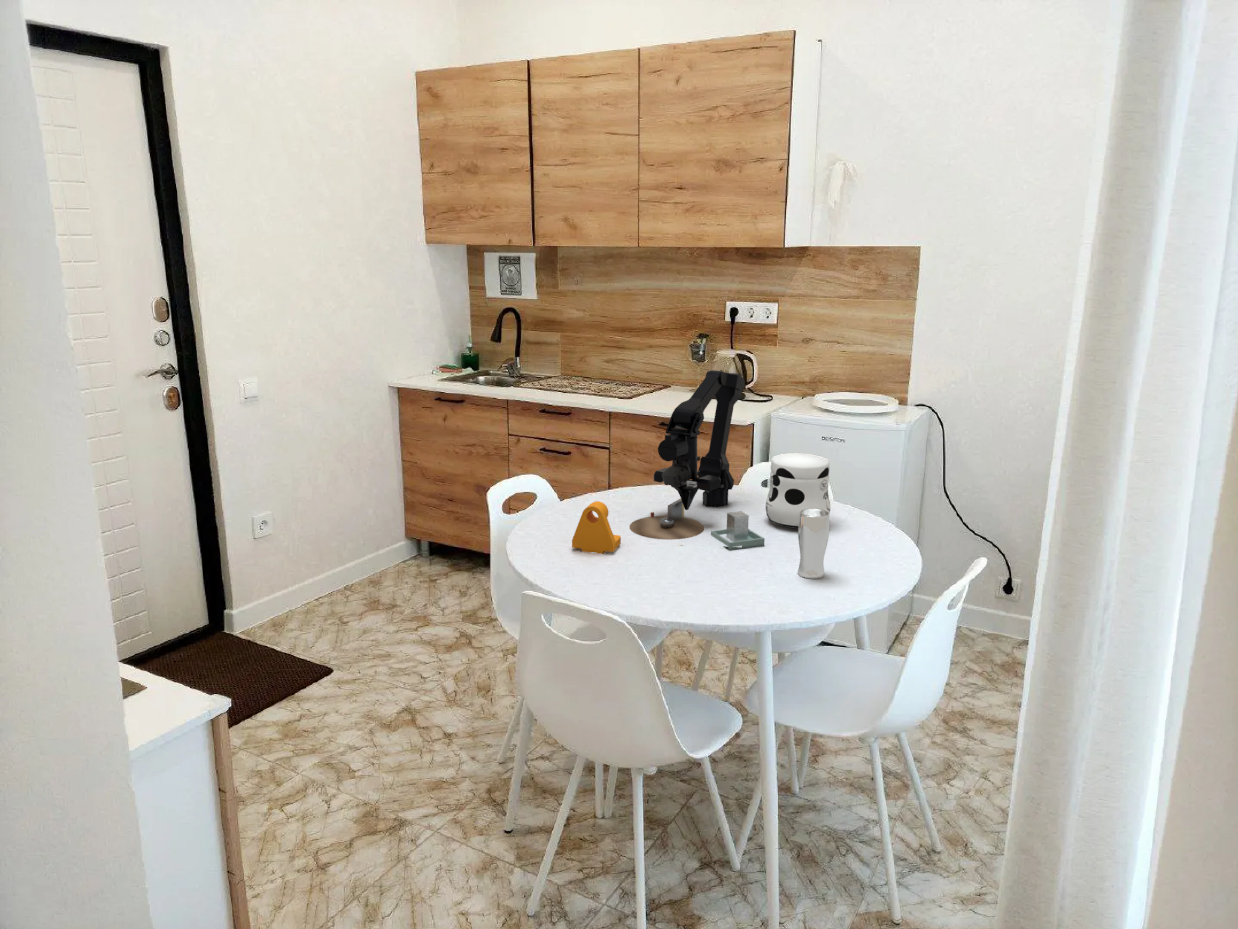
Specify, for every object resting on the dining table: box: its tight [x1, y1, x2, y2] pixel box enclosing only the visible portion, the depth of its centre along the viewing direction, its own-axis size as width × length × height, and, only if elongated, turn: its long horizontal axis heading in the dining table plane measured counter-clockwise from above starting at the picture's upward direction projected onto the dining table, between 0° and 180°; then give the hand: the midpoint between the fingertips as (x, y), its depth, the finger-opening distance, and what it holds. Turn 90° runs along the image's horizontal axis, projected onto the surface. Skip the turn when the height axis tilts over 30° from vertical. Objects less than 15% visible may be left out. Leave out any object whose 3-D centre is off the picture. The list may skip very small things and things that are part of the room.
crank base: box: [629, 511, 705, 541], centre depth 232 cm, size 20×20×2 cm
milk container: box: [765, 452, 831, 529], centre depth 236 cm, size 17×17×18 cm
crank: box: [660, 498, 685, 527], centre depth 234 cm, size 11×4×5 cm, turn 149°
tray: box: [710, 528, 766, 552], centre depth 223 cm, size 10×10×2 cm
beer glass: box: [797, 508, 830, 580], centre depth 200 cm, size 7×7×15 cm
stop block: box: [725, 510, 749, 542], centre depth 222 cm, size 4×4×7 cm
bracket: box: [571, 500, 622, 554], centre depth 217 cm, size 11×7×12 cm, turn 73°
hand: (686, 509), depth 236 cm, fingers closed
